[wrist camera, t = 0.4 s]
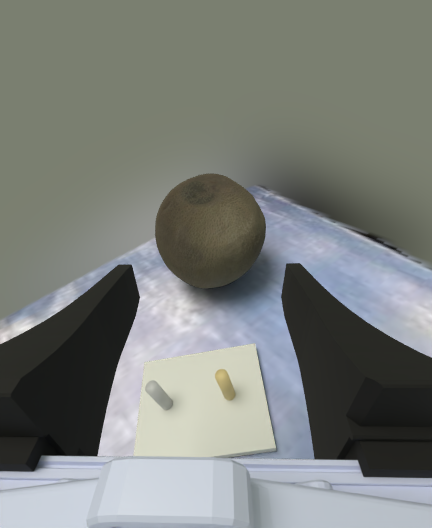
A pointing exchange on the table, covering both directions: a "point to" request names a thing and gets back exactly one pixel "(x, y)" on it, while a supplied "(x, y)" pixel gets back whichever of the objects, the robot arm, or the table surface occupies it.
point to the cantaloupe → (209, 231)
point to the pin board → (204, 406)
